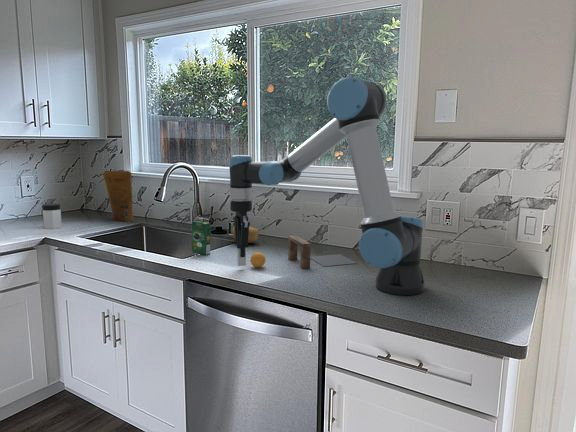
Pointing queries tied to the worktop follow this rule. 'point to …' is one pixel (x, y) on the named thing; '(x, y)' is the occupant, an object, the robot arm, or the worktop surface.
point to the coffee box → (201, 237)
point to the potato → (252, 234)
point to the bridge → (305, 251)
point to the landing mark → (332, 260)
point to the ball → (257, 259)
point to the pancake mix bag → (119, 194)
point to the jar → (51, 216)
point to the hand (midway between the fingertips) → (241, 265)
